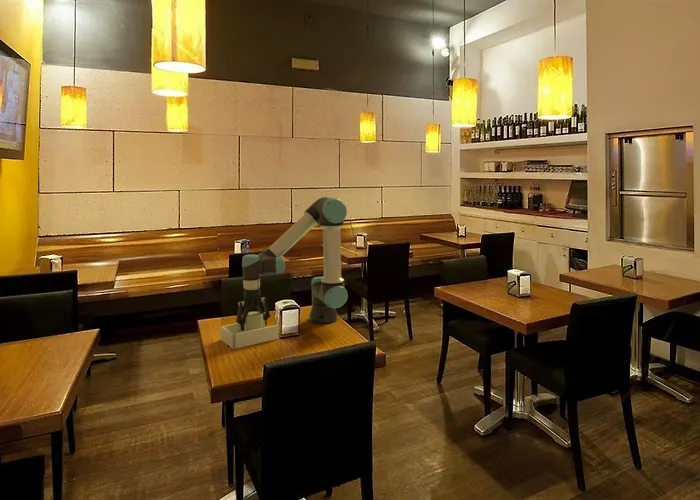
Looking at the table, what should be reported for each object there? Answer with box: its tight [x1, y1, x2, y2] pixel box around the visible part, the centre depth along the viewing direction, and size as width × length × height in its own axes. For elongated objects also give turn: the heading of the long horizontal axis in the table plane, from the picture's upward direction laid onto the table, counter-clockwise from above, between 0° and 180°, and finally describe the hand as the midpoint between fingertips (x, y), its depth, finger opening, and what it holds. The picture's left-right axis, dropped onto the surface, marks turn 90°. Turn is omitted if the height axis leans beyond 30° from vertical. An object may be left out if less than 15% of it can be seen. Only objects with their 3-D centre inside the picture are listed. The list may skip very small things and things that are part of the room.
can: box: [245, 311, 264, 331], centre depth 217 cm, size 9×9×12 cm
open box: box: [219, 322, 279, 350], centre depth 217 cm, size 22×15×6 cm
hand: (254, 334), depth 218 cm, fingers closed on can, 9 cm apart
